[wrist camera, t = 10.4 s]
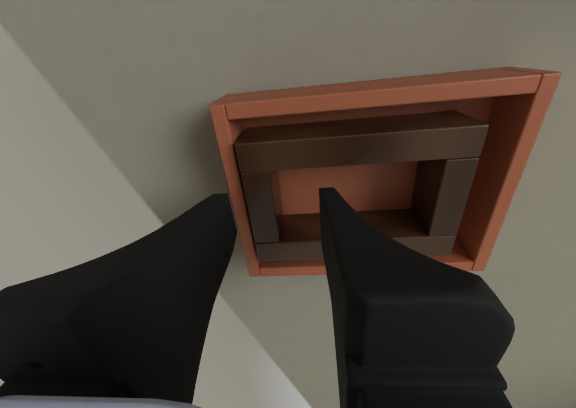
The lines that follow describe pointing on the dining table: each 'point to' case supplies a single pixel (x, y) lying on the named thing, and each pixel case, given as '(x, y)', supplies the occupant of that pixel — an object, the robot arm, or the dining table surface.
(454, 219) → the frame
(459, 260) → the holder
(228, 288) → the dining table surface
